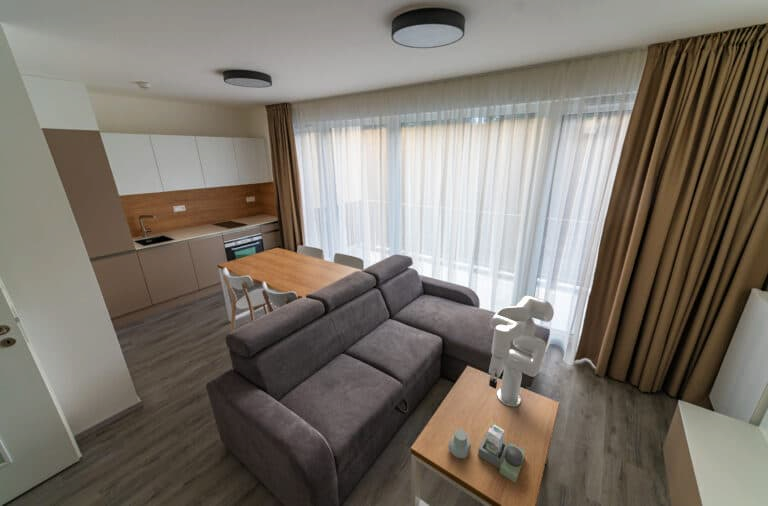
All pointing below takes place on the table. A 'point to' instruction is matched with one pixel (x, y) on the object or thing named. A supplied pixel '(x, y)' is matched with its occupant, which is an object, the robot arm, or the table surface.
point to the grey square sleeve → (504, 459)
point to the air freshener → (459, 444)
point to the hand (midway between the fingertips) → (496, 380)
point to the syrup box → (494, 440)
